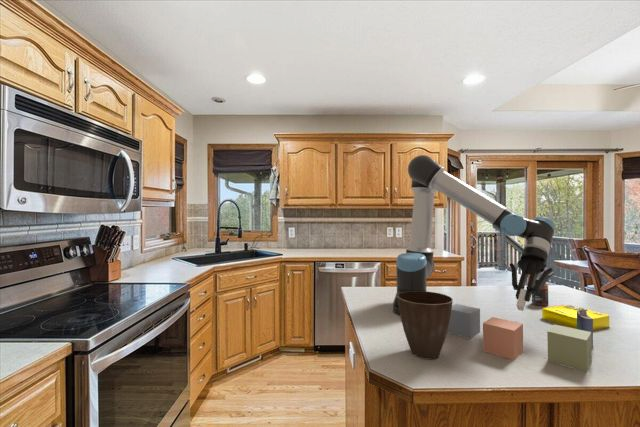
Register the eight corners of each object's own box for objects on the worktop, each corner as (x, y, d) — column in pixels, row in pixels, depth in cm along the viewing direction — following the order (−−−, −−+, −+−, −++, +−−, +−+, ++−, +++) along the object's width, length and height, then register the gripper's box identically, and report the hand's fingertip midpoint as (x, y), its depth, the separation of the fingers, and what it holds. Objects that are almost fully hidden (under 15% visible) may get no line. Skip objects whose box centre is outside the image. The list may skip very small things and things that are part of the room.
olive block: (587, 372, 76) (586, 340, 76) (547, 361, 82) (547, 331, 82) (591, 362, 81) (591, 332, 81) (554, 352, 87) (554, 324, 87)
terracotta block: (514, 360, 82) (514, 330, 82) (483, 350, 88) (482, 323, 88) (523, 351, 88) (523, 323, 88) (492, 343, 94) (492, 317, 94)
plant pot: (386, 351, 88) (386, 295, 88) (417, 338, 97) (417, 288, 97) (433, 371, 76) (433, 307, 76) (463, 355, 85) (463, 298, 85)
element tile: (539, 319, 116) (539, 306, 116) (565, 314, 121) (565, 302, 122) (584, 333, 102) (584, 318, 102) (612, 327, 107) (612, 314, 107)
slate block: (470, 339, 97) (470, 313, 97) (445, 332, 103) (445, 308, 103) (480, 332, 102) (480, 308, 102) (456, 326, 108) (456, 303, 108)
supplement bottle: (547, 303, 135) (547, 278, 135) (549, 307, 130) (548, 280, 130) (531, 301, 138) (531, 277, 138) (532, 305, 133) (531, 279, 133)
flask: (594, 350, 88) (594, 313, 88) (581, 348, 90) (581, 311, 90) (585, 339, 96) (585, 305, 97) (573, 337, 98) (573, 303, 98)
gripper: (559, 261, 106) (546, 319, 95) (516, 257, 116) (500, 309, 105) (556, 247, 103) (542, 306, 92) (512, 244, 113) (495, 296, 102)
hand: (519, 307), depth 99 cm, fingers closed
